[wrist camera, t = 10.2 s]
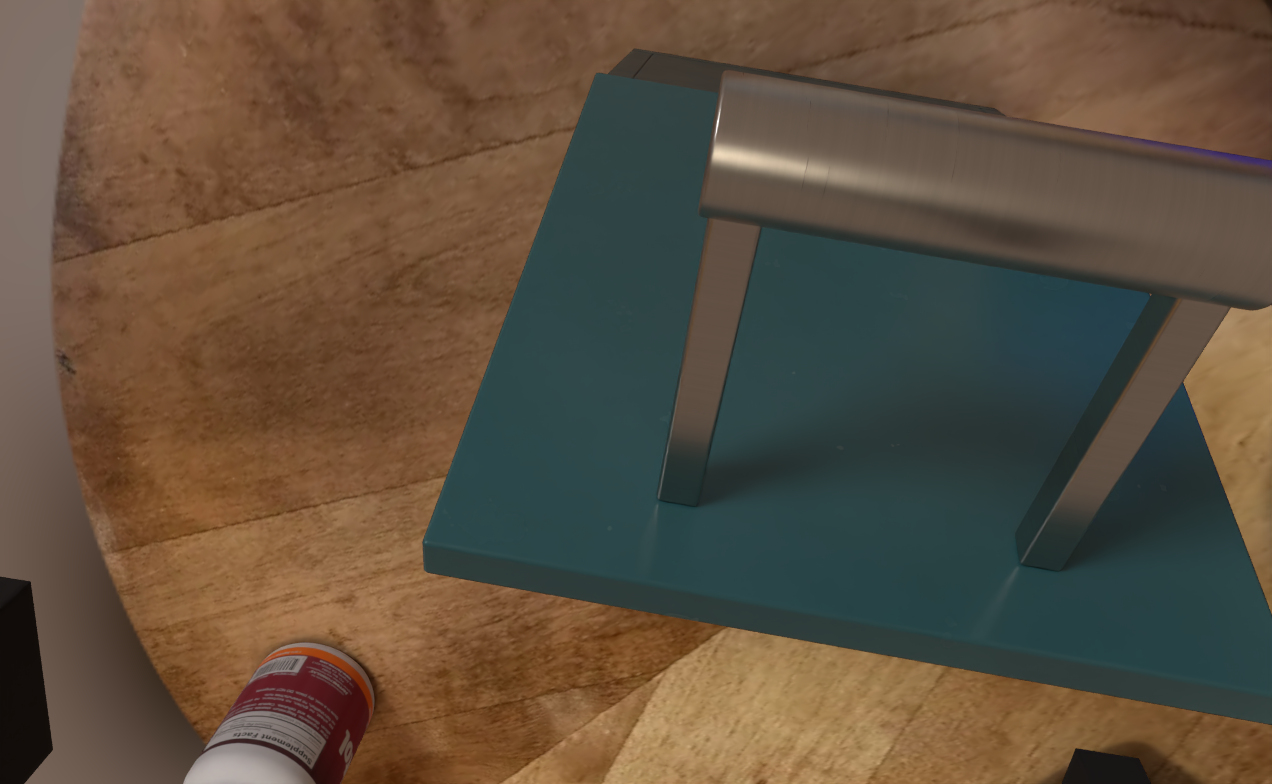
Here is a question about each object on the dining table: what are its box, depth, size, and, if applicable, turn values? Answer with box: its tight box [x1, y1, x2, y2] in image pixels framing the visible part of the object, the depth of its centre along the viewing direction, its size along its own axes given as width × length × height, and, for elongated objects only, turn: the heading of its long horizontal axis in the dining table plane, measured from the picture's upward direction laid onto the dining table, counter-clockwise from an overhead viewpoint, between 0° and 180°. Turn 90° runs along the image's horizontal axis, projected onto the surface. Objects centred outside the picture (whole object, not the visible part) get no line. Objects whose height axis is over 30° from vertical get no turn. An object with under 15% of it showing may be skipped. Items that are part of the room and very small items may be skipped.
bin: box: [608, 49, 1006, 116], centre depth 36 cm, size 16×14×11 cm
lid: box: [422, 70, 1272, 725], centre depth 19 cm, size 16×14×8 cm
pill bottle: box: [183, 643, 374, 784], centre depth 47 cm, size 6×6×11 cm
